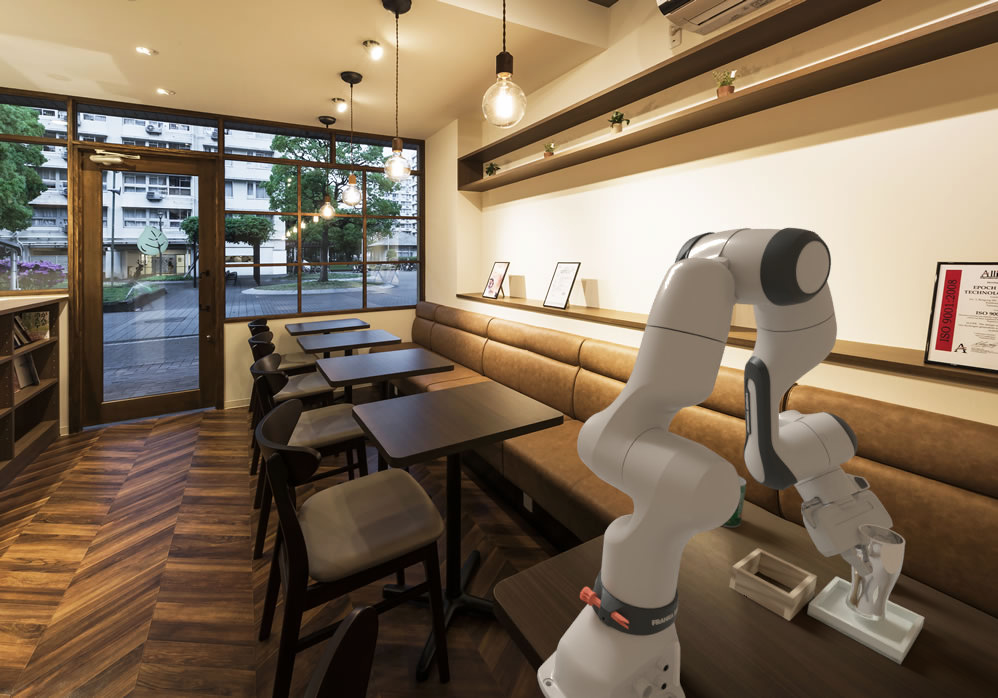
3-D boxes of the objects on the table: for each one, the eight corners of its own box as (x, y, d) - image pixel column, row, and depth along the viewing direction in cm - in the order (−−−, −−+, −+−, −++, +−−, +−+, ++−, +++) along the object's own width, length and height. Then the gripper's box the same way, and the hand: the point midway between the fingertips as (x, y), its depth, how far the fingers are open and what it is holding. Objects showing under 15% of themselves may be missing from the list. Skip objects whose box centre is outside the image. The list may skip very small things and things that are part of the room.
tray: (900, 664, 77) (903, 652, 76) (807, 614, 87) (809, 603, 87) (922, 628, 85) (924, 617, 84) (834, 586, 95) (836, 576, 95)
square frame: (789, 620, 85) (793, 598, 85) (729, 586, 94) (732, 566, 93) (813, 596, 92) (817, 576, 91) (755, 567, 101) (758, 547, 100)
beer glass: (873, 598, 89) (888, 525, 86) (900, 626, 82) (917, 547, 79) (834, 594, 89) (847, 521, 87) (857, 621, 83) (873, 543, 80)
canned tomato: (736, 513, 123) (742, 473, 120) (744, 530, 115) (750, 487, 113) (703, 509, 124) (708, 469, 122) (709, 524, 117) (715, 483, 115)
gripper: (812, 498, 83) (866, 581, 76) (869, 476, 93) (922, 548, 86) (782, 509, 87) (831, 589, 81) (840, 487, 97) (888, 557, 91)
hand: (879, 568), depth 84 cm, fingers closed on beer glass, 7 cm apart
